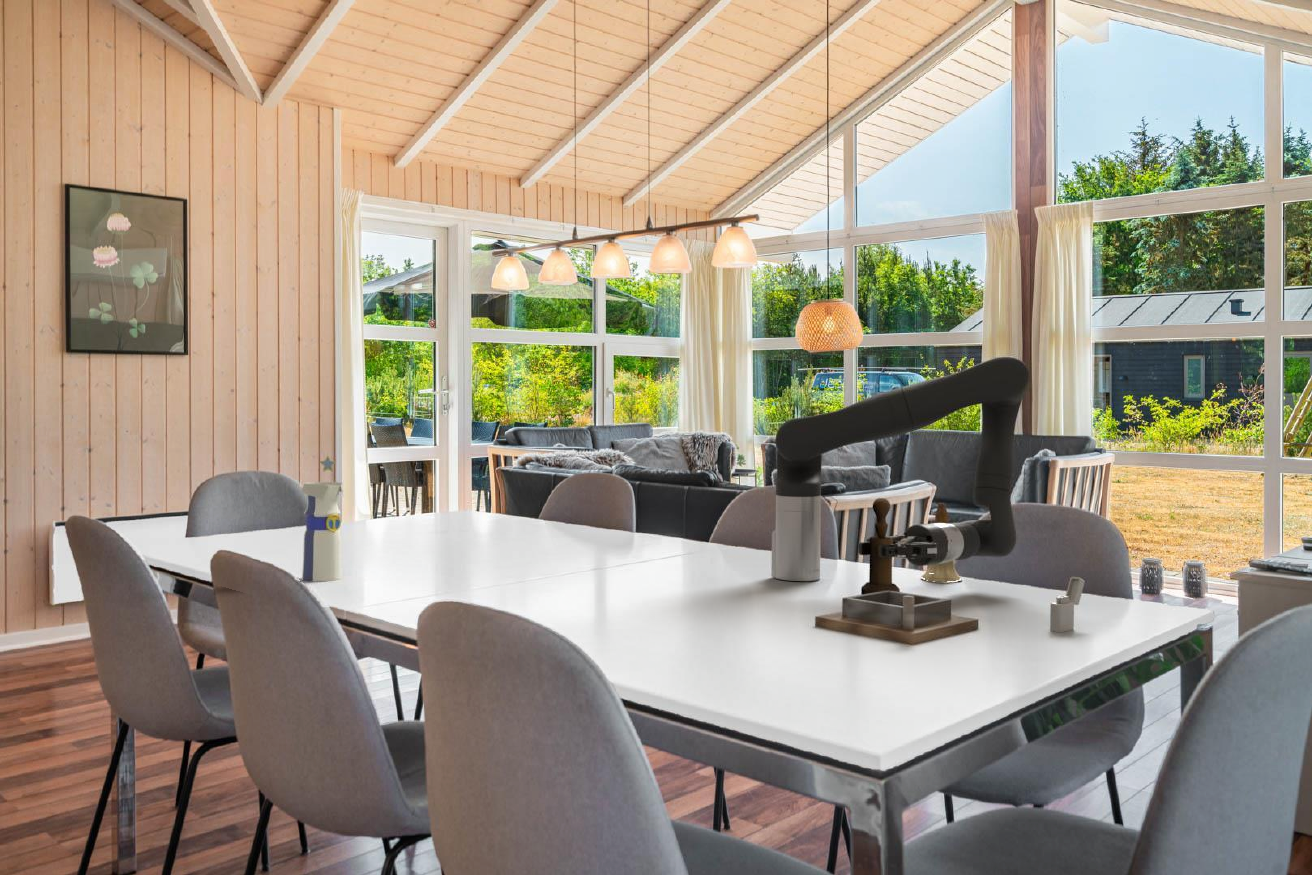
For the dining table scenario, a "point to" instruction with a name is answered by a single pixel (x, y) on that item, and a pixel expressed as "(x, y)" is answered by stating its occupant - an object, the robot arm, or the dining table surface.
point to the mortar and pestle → (878, 566)
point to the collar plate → (897, 617)
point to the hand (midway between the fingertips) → (870, 550)
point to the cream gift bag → (322, 530)
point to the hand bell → (943, 570)
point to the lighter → (1066, 607)
